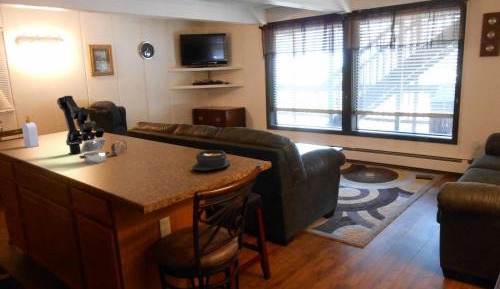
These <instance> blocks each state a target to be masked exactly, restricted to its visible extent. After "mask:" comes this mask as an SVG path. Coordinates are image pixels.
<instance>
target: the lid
mask: <svg viewBox="0 0 500 289" xmlns="http://www.w3.org/2000/svg"><path fill="white" fill-rule="evenodd" d="M106 141H107V137H104V138H103V137H101V138H96V137H95V138H93V139H92V140H87V141H85V142H84V141H83V142H84V143H82V147H80V150H81V151H80V152H81V153H80V154H85V153H90V152H98V151H102V148H103V146H104V145H105V143H106Z"/></svg>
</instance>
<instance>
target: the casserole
mask: <svg viewBox="0 0 500 289" xmlns="http://www.w3.org/2000/svg"><path fill="white" fill-rule="evenodd" d="M227 157H228V155H227V154H226V151H223V150H217V149H209V150H203V151H202V150H201V151H200V152H197V153H196V156H195V159H196V163H194V165H193V166H191V169H192V170H196V171H202V172H205V171H216V170H220V169H223V168H225V167H227V166H228V165H229V164H230V163H231V162H232V161H231V160H230V159H226V158H227Z"/></svg>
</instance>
